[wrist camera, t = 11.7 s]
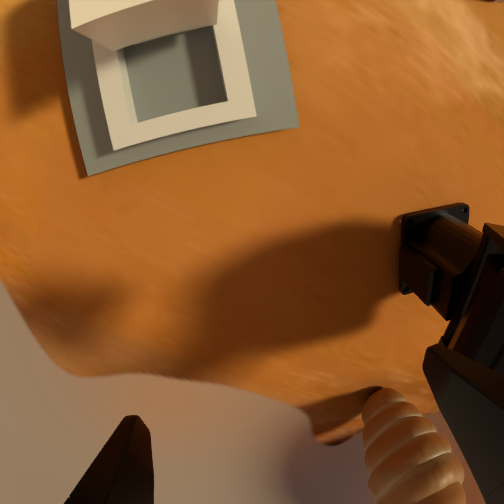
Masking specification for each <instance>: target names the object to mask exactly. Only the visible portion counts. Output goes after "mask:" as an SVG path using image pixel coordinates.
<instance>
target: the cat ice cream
mask: <svg viewBox="0 0 504 504" xmlns="http://www.w3.org/2000/svg"><path fill="white" fill-rule="evenodd" d="M362 419H363V422H364V425H365V427H364V430H363V435H362V438H363V443H364V447H365V450H366V452H365V465H366V467H367V470H368V471H369V472H370V476H369V479H368V489H369V491H370V493H371V494H372V495H373V496H374V497H375V498H376V499H377V500H376V502H375V504H466V497H465V493H464V490H463V488H462V486H461V484H462V482H463V480H464V470H463V468H462V466H461V464H460V462H459V461H458V459H457V458H456V456H455V455H453V454H452V453H451V446H450V443H449V442H448V440H447V439H446V438H445V437H444V436H442V435H441V434H439V433H437V431H436V428H435V426H434V425H433V424H432V422H431V421H429V420H428V419H426V418H424V417H423V416H422V414H421V412H420V411H419V410H418V409H417V408H416V407H415V406H414V405H413V404H411V403H409V402H407V400H406V398H405V397H404V396H403V395H402V394H401V393H400V392H398V391H396V390H394V389H391V388H384V389H380V390H378V391H376V392H374V393H373V394H372V395H371V396H370V397H369V398H368V399H367V401H366V402H365V404H364V406H363V408H362Z"/></svg>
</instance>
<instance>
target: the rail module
mask: <svg viewBox="0 0 504 504" xmlns="http://www.w3.org/2000/svg"><path fill="white" fill-rule="evenodd" d="M218 3H219V0H69V8H70V18H71V28H72V29H73V30H75V31H77V32H78V33H80V34H82V35H84V36H86V37H88V38H90V39H92V40H94V41H95V42H97V43H99V44H101V45H103V46H104V47H106V48H108V49H110V50H112V51H115V50H118V49H121V48H124V47H127V46H130V45H133V44H136V45H137V44H140V43H144V42H147V41H151V40H155V39H158V38H162V37H166V36H170V35H174V34H178V33H183V32H187V31H192V30H197V29H199V28H201V27H206V26H211V25H217V16H218Z"/></svg>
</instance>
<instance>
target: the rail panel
mask: <svg viewBox="0 0 504 504" xmlns="http://www.w3.org/2000/svg"><path fill="white" fill-rule="evenodd" d="M57 12H58V24H59V33H60V42H61V50H62V57H63V64H64V70H65V76H66V82H67V88H68V93H69V99H70V104H71V109H72V113H73V118H74V123H75V127H76V131H77V136H78V140H79V144H80V148H81V152H82V156H83V160H84V163H85V167H86V171H87V174H88V176H90V175H94V174H97V173H100V172H103V171H106V170H109V169H113V168H116V167H119V166H122V165H126V164H129V163H133V162H136V161H140V160H143V159H147V158H151V157H154V156H158V155H162V154H166V153H170V152H174V151H178V150H182V149H186V148H190V147H195V146H199V145H204V144H208V143H213V142H217V141H222V140H227V139H232V138H237V137H243V136H248V135H253V134H259V133H265V132H271V131H277V130H283V129H290V128H297V127H299V121H298V115H297V108H296V102H295V96H294V91H293V85H292V79H291V74H290V68H289V63H288V58H287V53H286V48H285V43H284V38H283V33H282V28H281V23H280V19H279V14H278V10H277V5H276V1H275V0H219V3H218V16H217V25H211V26H206V27H201V28H199V29H197V30H192V31H187V32H183V33H178V34H174V35H170V36H166V37H162V38H158V39H155V40H151V41H147V42H144V43H140V44H137V45H136V44H133V45H130V46H127V47H124V48H121V49H118V50H115V51H112V50H110V49H108V48H106V47H104V46H103V45H101V44H99V43H97V42H95V41H94V40H92V39H90V38H88V37H86V36H84V35H82V34H80V33H78V32H77V31H75V30H73V29H72V28H71V18H70V8H69V0H57Z"/></svg>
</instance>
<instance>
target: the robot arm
mask: <svg viewBox="0 0 504 504" xmlns="http://www.w3.org/2000/svg"><path fill="white" fill-rule="evenodd" d="M463 209H464V211H463ZM409 220H410V222H409V224H407V223H408V221H409ZM468 221H469V206H468V205H467V204H465V203H459V204H454V205H449V206H444V207H439V208H434V209H430V210H425V211H420V212H415V213H410V214H406V215H405V216H404V217H403V218H402V228H401V246H400V256H399V275H398V276H399V291H400V292H401V293H402V294H403V295H406V294H409V293H413V292H414V293H415V294H416V295H417V296H418V297H419V298H420V299H421V300H422V301H423V303H424V304H426V305H427V306H430V305H432V306H433V307H434V308H435V310H436V311H437V312H438V313H439V314H440V315H441V316H442V317H443V318H444V319H445V320H446V321H449V320H450V322H449V324H448V327H447V329H446V331H445V333H444V335H443V336H442V337H441V338H440V340H439V343H438V344H435V345H432V346H430V347H428V348H427V349H426V353H425V357H424V361H423V371H424V374H425V376H426V379H427V381H428V383H429V386H430V388H431V390H432V393H433V395H434V398H435V400H436V403H437V405H438V407H439V409H440V411H441V413H442V415H443V417H444V419H445V420H446V422H447V424H448V426H449V428H450V430H451V432H452V434H453V436H454V438H455V440H456V442H457V443H458V445H459V447H460V449H461V451H462V453H463V455H464V457H465V459H466V461H467V464H468V466H469V468H470V469H471V472H472V474H473V476H474V478H475V480H476V483H477V484H478V487H479V489H480V491H481V493H482V495H483V498H484V500H485V503H486V504H504V226H501V225H495V224H490V223H484V227H483V230H482V232H483V233H481V232H480V231H478V230H477V229H475V228H473V227H472V226H470V225H468ZM405 287H406V288H405ZM404 288H405V289H404ZM64 504H154V470H153V460H152V449H151V436H150V432H149V429H148V428H147V426H146V425H145V424H144V422H143V421H142V420H141V418H140V417H139V416H137V415H130V416H126V417H124V418H123V420H122V421H121V422H120V424H119V425H118V427H117V428H116V430H115V431H114V432H113V434H112V435H111V437H110V438H109V440H108V441H107V442H106V444H105V445H104V447H103V448H102V450H101V451H100V452H99V454H98V455H97V457H96V458H95V460H94V461H93V463H92V464H91V465H90V467H89V468H88V470H87V471H86V472H85V474H84V475H83V477H82V478H81V480H80V481H79V482H78V484H77V485H76V487H75V488H74V490H73V491H72V493H71V494H70V497H69V498H67V500H66V501H65V502H64Z"/></svg>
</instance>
